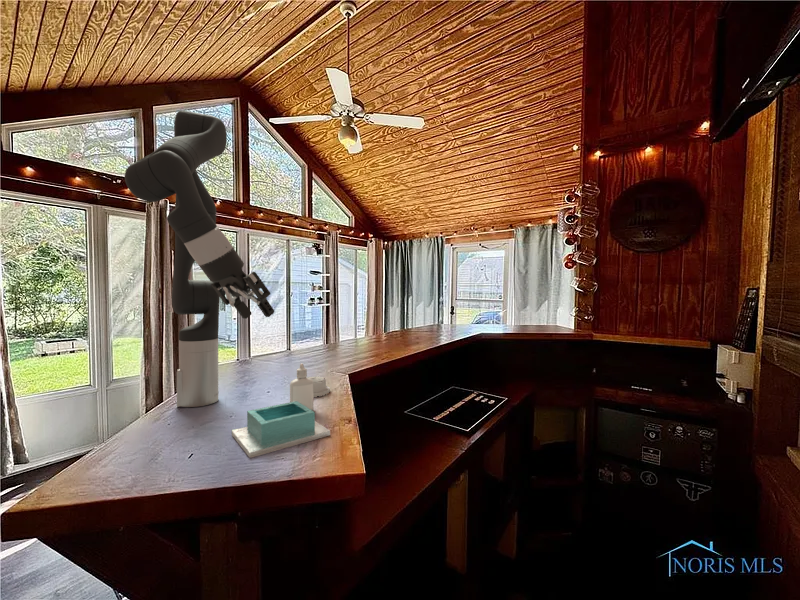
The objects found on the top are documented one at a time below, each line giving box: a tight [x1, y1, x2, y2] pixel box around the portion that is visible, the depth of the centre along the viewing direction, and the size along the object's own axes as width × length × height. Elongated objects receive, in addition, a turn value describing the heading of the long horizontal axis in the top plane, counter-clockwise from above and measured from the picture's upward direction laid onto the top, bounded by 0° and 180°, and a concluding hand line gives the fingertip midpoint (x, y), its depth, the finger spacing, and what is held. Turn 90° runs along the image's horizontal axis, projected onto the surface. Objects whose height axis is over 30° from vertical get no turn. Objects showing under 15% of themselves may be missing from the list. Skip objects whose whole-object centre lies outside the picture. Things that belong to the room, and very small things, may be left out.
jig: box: [231, 401, 331, 459], centre depth 72 cm, size 16×13×5 cm
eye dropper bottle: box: [289, 363, 314, 411], centre depth 86 cm, size 4×6×12 cm
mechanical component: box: [306, 376, 331, 398], centre depth 103 cm, size 10×4×10 cm
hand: (259, 315), depth 78 cm, fingers open, 8 cm apart
